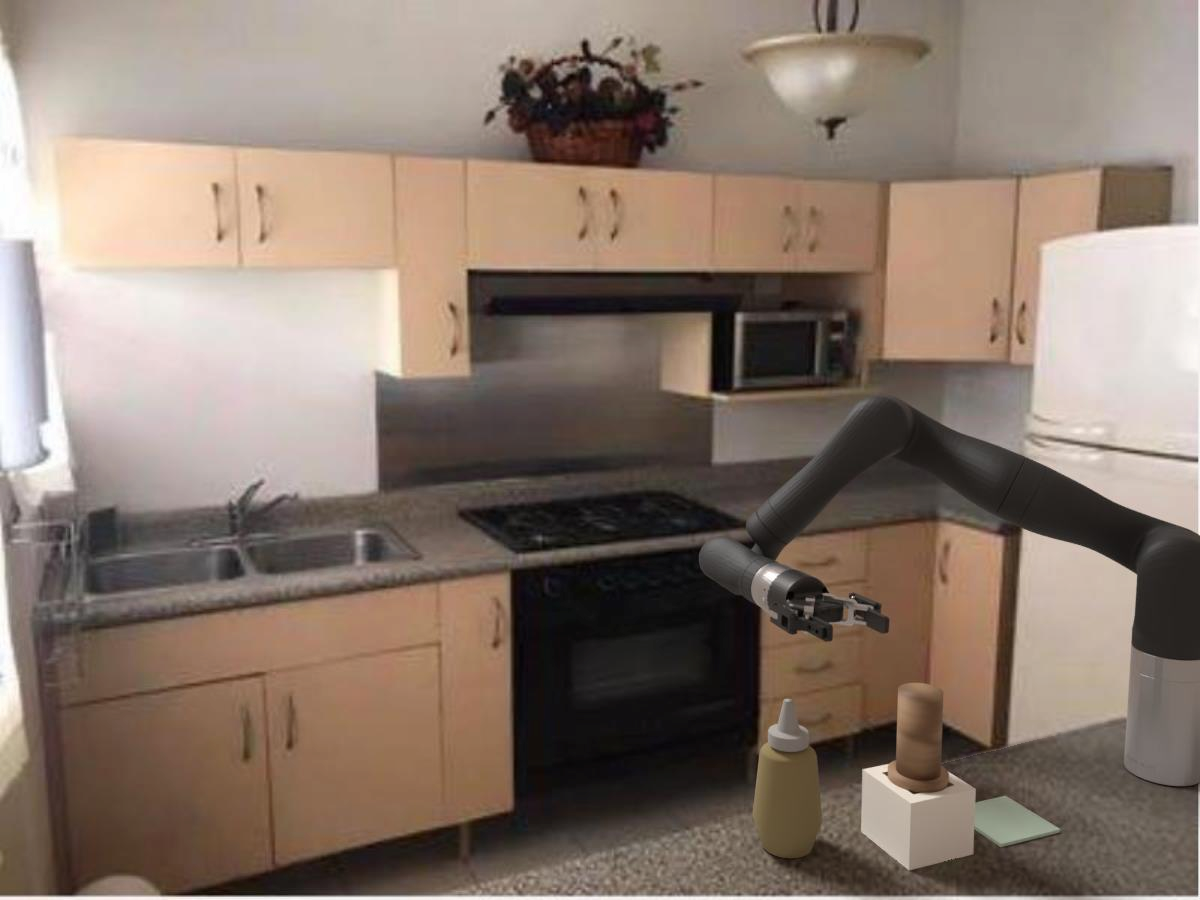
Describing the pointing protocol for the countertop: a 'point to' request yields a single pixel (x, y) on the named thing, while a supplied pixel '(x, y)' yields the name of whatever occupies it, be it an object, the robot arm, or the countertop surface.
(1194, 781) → the robot arm
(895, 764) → the flanged wooden peg
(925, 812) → the white socket block
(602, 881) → the countertop surface
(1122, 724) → the countertop surface
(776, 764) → the squeeze bottle
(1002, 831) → the mat
